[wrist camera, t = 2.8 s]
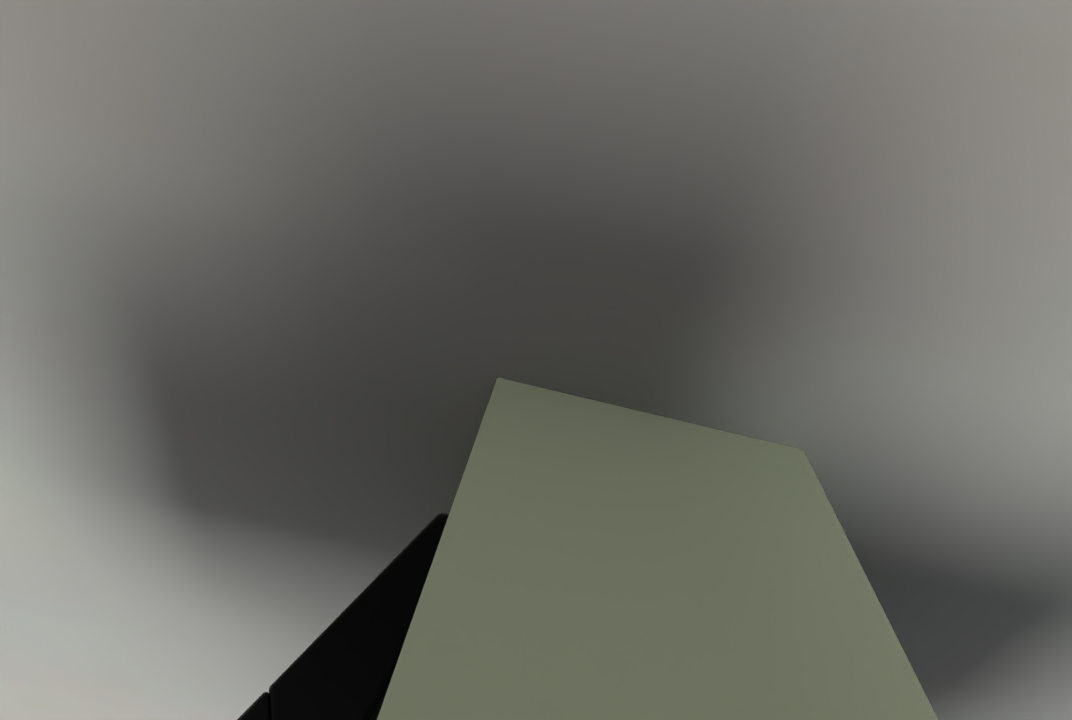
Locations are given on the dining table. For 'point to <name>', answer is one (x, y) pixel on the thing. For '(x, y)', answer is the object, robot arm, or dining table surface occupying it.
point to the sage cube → (643, 581)
